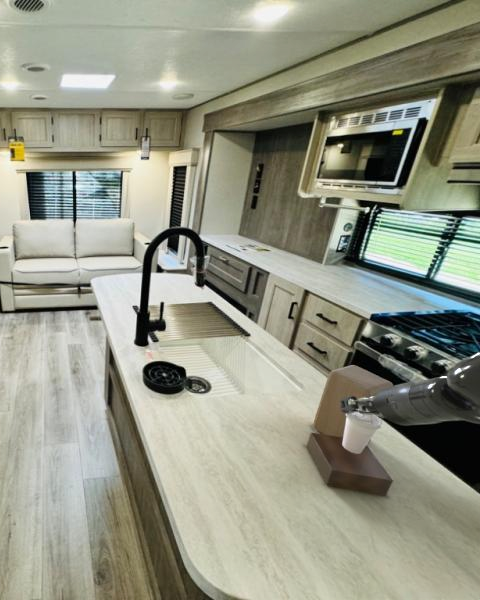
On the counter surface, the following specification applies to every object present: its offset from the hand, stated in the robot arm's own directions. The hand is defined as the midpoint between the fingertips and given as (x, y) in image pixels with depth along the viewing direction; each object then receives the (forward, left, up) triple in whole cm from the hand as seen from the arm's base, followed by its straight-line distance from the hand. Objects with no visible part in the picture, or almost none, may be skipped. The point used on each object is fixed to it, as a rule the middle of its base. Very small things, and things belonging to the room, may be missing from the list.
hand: (360, 411), depth 74 cm
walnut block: (0, +2, -17) cm, 17 cm away
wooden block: (-5, -11, -17) cm, 21 cm away
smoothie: (0, +2, -10) cm, 10 cm away
